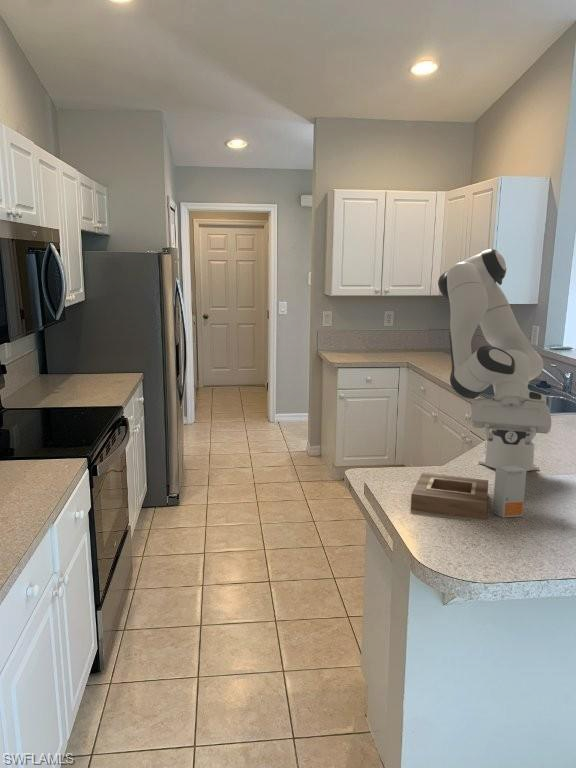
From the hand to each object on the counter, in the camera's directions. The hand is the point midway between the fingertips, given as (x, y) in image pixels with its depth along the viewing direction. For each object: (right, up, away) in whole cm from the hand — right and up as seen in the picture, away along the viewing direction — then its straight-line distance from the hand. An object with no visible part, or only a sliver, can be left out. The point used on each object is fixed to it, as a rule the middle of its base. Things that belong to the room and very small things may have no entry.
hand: (508, 441), depth 151 cm
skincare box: (-3, -18, -8) cm, 20 cm away
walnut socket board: (-15, -16, +1) cm, 22 cm away
